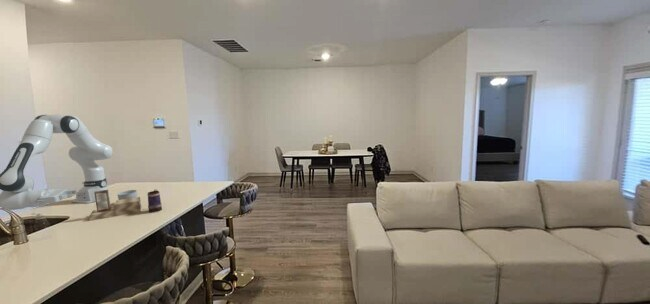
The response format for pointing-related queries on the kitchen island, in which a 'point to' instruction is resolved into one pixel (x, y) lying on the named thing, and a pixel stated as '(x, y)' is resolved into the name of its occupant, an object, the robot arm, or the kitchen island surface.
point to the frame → (102, 201)
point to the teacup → (127, 194)
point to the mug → (154, 201)
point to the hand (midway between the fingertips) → (73, 193)
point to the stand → (119, 209)
